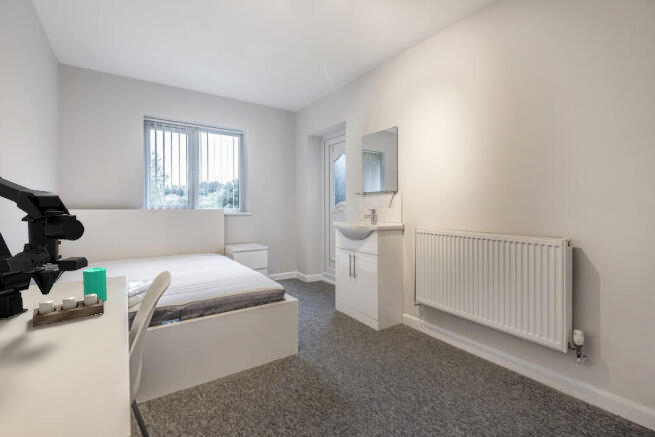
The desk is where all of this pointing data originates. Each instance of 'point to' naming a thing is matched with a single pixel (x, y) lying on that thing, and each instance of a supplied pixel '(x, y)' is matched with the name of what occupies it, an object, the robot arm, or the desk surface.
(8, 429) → the desk surface
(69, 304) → the button middle
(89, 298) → the button far
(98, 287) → the candle
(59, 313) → the button board
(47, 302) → the button near
